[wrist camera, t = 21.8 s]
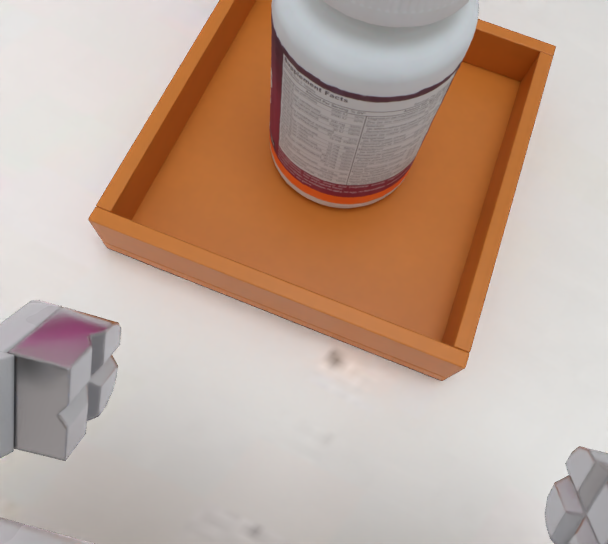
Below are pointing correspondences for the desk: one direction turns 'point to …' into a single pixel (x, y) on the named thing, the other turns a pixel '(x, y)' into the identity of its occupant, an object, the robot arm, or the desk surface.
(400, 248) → the amber tray
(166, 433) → the desk surface
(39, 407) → the robot arm
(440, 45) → the pill bottle
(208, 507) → the desk surface
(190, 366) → the desk surface
